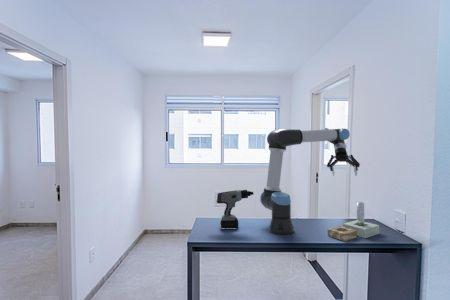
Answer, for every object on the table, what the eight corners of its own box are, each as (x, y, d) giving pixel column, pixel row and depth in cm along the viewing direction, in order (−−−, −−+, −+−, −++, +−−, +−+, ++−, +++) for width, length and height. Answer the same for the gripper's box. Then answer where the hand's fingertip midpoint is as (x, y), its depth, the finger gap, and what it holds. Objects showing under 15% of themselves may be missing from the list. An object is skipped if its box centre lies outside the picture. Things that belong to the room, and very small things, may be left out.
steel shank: (355, 232, 164) (355, 202, 164) (359, 231, 167) (359, 201, 166) (361, 234, 161) (361, 204, 161) (365, 232, 163) (365, 203, 163)
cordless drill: (254, 229, 175) (253, 190, 175) (216, 229, 176) (215, 191, 175) (253, 225, 183) (252, 188, 183) (217, 226, 184) (216, 189, 183)
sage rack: (343, 231, 166) (343, 223, 166) (357, 227, 173) (357, 219, 173) (365, 238, 154) (364, 229, 154) (379, 233, 161) (378, 225, 161)
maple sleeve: (327, 235, 160) (327, 229, 160) (339, 232, 165) (339, 225, 165) (344, 241, 150) (344, 234, 150) (356, 237, 156) (356, 230, 156)
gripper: (359, 154, 191) (364, 178, 176) (321, 154, 197) (324, 177, 182) (360, 146, 185) (366, 170, 171) (322, 147, 191) (324, 170, 177)
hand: (344, 174), depth 177 cm, fingers open, 13 cm apart
